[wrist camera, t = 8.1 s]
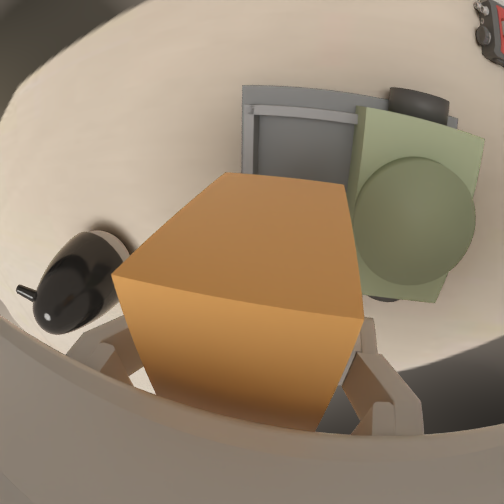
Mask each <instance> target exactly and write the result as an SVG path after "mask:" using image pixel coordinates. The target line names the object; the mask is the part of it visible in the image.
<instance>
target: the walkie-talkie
mask: <svg viewBox="0 0 504 504" xmlns="http://www.w3.org/2000/svg"><path fill="white" fill-rule="evenodd" d="M474 7H475V9H477V10H478V11H479V17H480V27H478V29H477V32H476V37H477V40H478V42H479V44H481V45H482V54H483V55H484V57H485V58H487V59H489V60H491V61H493V62H495V63H497V64H499V65H501V66H503V67H504V0H480V3H477V2H475V4H474Z"/></svg>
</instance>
